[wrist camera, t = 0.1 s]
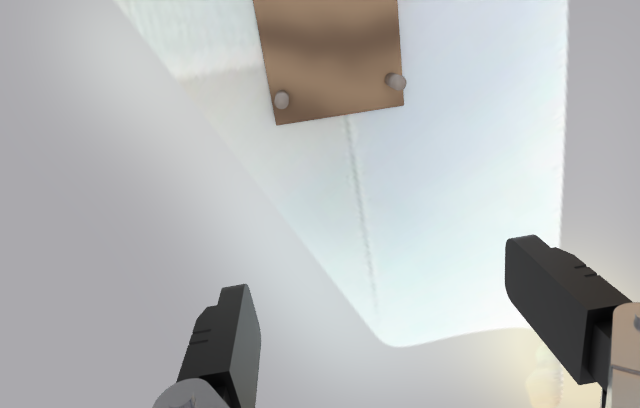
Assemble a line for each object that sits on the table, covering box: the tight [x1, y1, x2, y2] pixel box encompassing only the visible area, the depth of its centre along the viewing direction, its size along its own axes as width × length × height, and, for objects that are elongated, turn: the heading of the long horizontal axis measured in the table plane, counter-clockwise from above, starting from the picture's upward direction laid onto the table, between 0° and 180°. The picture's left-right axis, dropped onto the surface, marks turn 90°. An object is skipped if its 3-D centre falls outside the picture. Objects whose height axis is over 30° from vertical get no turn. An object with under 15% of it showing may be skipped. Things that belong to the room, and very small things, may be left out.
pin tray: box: [253, 0, 406, 125], centre depth 35 cm, size 14×12×4 cm
